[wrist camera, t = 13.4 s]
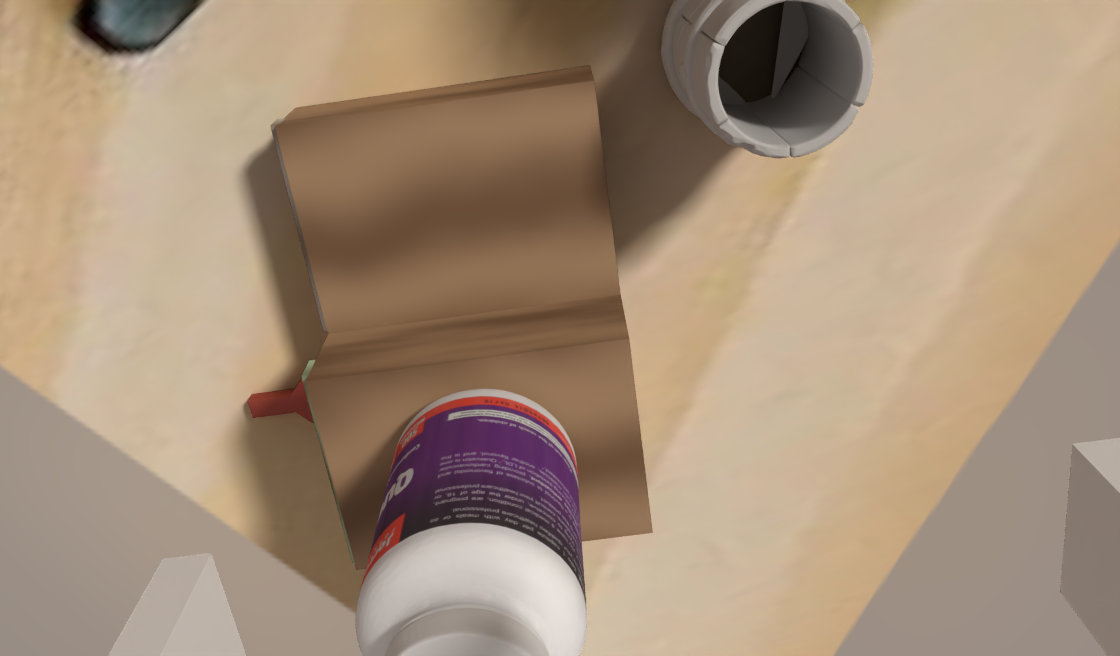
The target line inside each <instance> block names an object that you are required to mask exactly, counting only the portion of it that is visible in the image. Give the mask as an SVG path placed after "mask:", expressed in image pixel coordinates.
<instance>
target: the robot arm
mask: <svg viewBox="0 0 1120 656" xmlns="http://www.w3.org/2000/svg"><path fill="white" fill-rule="evenodd" d="M1060 592H1061V593H1062V595H1063V596H1064V597H1065V599H1066V600H1067V602H1068V603H1069V604H1070V606H1071V607H1072V608H1073V610H1074V611H1075V612H1076V613H1077V615H1078V616H1079V618H1080V619H1081V620H1082V622H1083V623H1084V624H1085V626H1086V627H1087V629H1088V630H1089V631H1090V633H1091V634H1092V635H1093V637H1094V638H1095V639H1096V641H1097V642H1098V643H1099V645H1100V646H1101V648H1102V649H1103V650H1104V652H1105V653H1106V654H1107V656H1120V438H1115V439H1108V440H1100V441H1092V442H1084V443H1076V444H1072V455H1071V467H1070V479H1069V491H1068V503H1067V515H1066V527H1065V539H1064V551H1063V564H1062V576H1061V588H1060ZM108 656H246V653H245V650H244V647H243V644H242V641H241V638H240V635H239V632H238V630H237V627H236V624H235V621H234V618H233V615H232V612H231V609H230V606H229V603H228V600H227V597H226V595H225V592H224V589H223V586H222V583H221V580H220V577H219V574H218V571H217V569H216V565H215V562H214V560H213V557H212V554H211V553H207V554H199V555H192V556H183V557H175V558H167V559H163V560H162V561H161V563H160V565H159V567H158V568H157V570H156V572H155V574H154V575H153V578H152V579H151V581H150V583H149V585H148V586H147V588H146V590H145V591H144V593H143V595H142V597H141V598H140V600H139V602H138V604H137V606H136V608H135V609H134V611H133V613H132V614H131V616H130V618H129V620H128V621H127V623H126V625H125V627H124V629H123V630H122V632H121V634H120V636H119V638H118V639H117V641H116V643H115V644H114V646H113V648H112V650H111V652H110V653H109V655H108Z"/></svg>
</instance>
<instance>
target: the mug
mask: <svg viewBox="0 0 1120 656" xmlns="http://www.w3.org/2000/svg"><path fill="white" fill-rule="evenodd" d="M781 2H784V7H783V15H782V22H781V29H780V37H779V44H778V51H777V58H776V66H775V73H774V80H773V88H772V94H770V95H769V96H767V97H765V98H763V99H761V100H758V101H754V102H748V103H747V102H746V101H745V100H744V99H743V98H742V97H741V96H740V95H738V94H737V93H736V92H735V91H734V90H733V89H732V88H731V87H730V86H729V85H728V84H727V83H726V82H725V81H724V80H723V79H722V78H721V77H720V76H719V75H718V72H719V65H720V61H721V57H722V54H723V51H724V46H725V45H726V44H727V43H728V41H729V40H730V38H731V37H732V35H733V34H734V33H735V31H736V30H737V29H738V28H739V27H740V26H741V25H742V24H743V23H744V22H745V21H746V20H747V19H748V18H750V17H751V16H753V15H754V14H756V13H757V12H759V11H760V10H762V9H764V8H766V7H768V6H771V5H774V4H777V3H781ZM860 21H861V20H860V18H859V17H858V15H857V14H856V13H855V12H854V11H853V10H852V9H851V8H850V7H849V6H848V5H847V4H846V2H845V1H844V0H674V2H673V4H672V6H671V8H670V10H669V13H668V15H667V18H666V21H665V25H664V29H663V35H662V47H661V57H662V59H663V65H664V70H665V73H666V76H667V79H668V81H669V84H670V86H671V88H672V90H673V91H674V93H675V95H676V96H677V97H678V99H679V100H680V101H681V102H682V104H683V105H684V106H685V107H686V109H687V110H688V111H689V112H691V113H692V114H694V115H695V116H697V117H698V118H700V119H701V120H702V121H703V123H704V124H705V125H706V126H707V127H708V128H709V129H710V130H711V131H712V132H714V133H715V134H716V135H717V136H719V137H720V138H721V139H722V140H723V141H724V142H725V143H727V144H729V145H731V146H735V147H740V148H744V149H746V150H748V151H750V152H751V153H754V154H757V155H760V156H765V157H772V158H786V157H789V156H791V157H800V156H804V155H807V154H810V153H812V152H815V151H817V150H819V149H821V148H823V147H825V146H827V145H828V144H830V143H831V142H833V141H834V140H835V139H837V138H838V137H839V136H840V135H841V134H843V133H844V132H845V131H846V130H847V128H848V127H849V126H850V125H851V124H852V122H853V120H854V118H855V116H856V114H857V112H858V111H857V109H856V107H855V106H858V107H860V106H862V105H864V104H865V101H866V99H867V96H868V93H869V90H870V87H871V83H872V77H873V55H872V48H871V43H870V39H869V36H868V33H867V31H866V29H865V27H864V25H863V24H861V23H860ZM803 47H804V49H803ZM802 49H803V52H802V55H801V58H800V60H799V62H798V66H797V67H796V68H795V69H794V71H793V73H792V74H791V76H790V77H789V79H788V80H787V81H786V82H785V83H784V81H785V79H786V78H787V76H788V74H789V72H790V71H791V69H792V67H793V65H794V63H795V62H796V60H797V58H798V56H799V54H800V53H801V51H802ZM783 83H784V84H783ZM854 105H855V106H854Z"/></svg>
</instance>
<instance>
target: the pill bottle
mask: <svg viewBox="0 0 1120 656" xmlns="http://www.w3.org/2000/svg"><path fill="white" fill-rule="evenodd" d="M586 628H587V616H586V597H585V582H584V569H583V555H582V540H581V525H580V507H579V488H578V470H577V463H576V456H575V452H574V449H573V446H572V444H571V441H570V439H569V437H568V435H567V433H566V432H565V430H564V429H563V427H562V426H561V424H560V423H559V422H558V421H557V420H556V418H555V417H554V416H553V415H551V414H550V413H549V412H548V411H547V410H546V409H544V408H543V407H542V406H540V405H539V404H537V403H536V402H534V401H532V400H530V399H528V398H526V397H524V396H521V395H519V394H516V393H512V392H508V391H504V390H498V389H473V390H466V391H460V392H456V393H453V394H450V395H447V396H445V397H442V398H440V399H438V400H436V401H434V402H433V403H431V404H429V405H428V406H427V407H425V408H424V409H423V410H421V411H420V412H419V413H418V414H417V415H416V416H415V417H414V418H413V419H412V420H411V421H410V423H409V424H408V425H407V427H406V428H405V430H404V432H403V434H402V435H401V437H400V439H399V442H398V444H397V447H396V451H395V454H394V458H393V462H392V466H391V470H390V474H389V479H388V483H387V487H386V491H385V495H384V499H383V503H382V507H381V511H380V515H379V518H378V523H377V527H376V530H375V535H374V539H373V543H372V547H371V551H370V555H369V559H368V563H367V567H366V571H365V575H364V579H363V582H362V586H361V590H360V594H359V599H358V603H357V608H356V633H357V639H358V643H359V647H360V650H361V652H362V655H363V656H580V654H581V651H582V648H583V645H584V642H585V636H586Z"/></svg>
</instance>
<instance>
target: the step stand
mask: <svg viewBox="0 0 1120 656" xmlns="http://www.w3.org/2000/svg"><path fill="white" fill-rule="evenodd" d="M270 126H271V130H272V134H273V137H274V141H275V145H276V149H277V153H278V157H279V161H280V165H281V168H282V172H283V176H284V180H285V184H286V188H287V192H288V196H289V199H290V203H291V207H292V211H293V215H294V219H295V223H296V226H297V230H298V234H299V238H300V242H301V246H302V250H303V254H304V257H305V261H306V265H307V269H308V273H309V277H310V281H311V285H312V288H313V292H314V296H315V300H316V304H317V308H318V312H319V315H320V319H321V323H322V327H323V331H327V332H328V335H327V337H326V339H325V342H324V344H323V346H322V348H321V350H320V352H319V354H318V356H317V358H316V360H309V362H308V364H307V366H306V368H305V370H304V372H303V374H302V376H301V377H302V379H301V380H300V382H299V383H298V384H297V386H296V387H295V388H294V389H288V390H281V391H273V392H266V393H258V394H252V395H251V397H250V399H249V400H248V403H249V407H250V410H251V413H252V417H253V418H256V417H264V416H271V415H279V414H287V413H294V412H296V413H297V414H299V415H301V416H302V417H304V418H306V419H307V420H309V421H311V422H312V423H314V424H315V428H316V431H317V435H318V439H319V442H320V446H321V450H322V453H323V457H324V461H325V464H326V468H327V471H328V475H329V479H330V482H331V486H332V490H333V493H334V497H335V501H336V504H337V508H338V512H339V515H340V519H341V523H342V526H343V530H344V534H345V537H346V541H347V544H348V548H349V552H350V555H351V559H352V563H353V562H355V566H356V570H358V569H366V567H367V563H368V559H369V555H370V551H371V547H372V543H373V539H374V535H375V530H376V527H377V523H378V518H379V515H380V511H381V507H382V503H383V499H384V495H385V491H386V487H387V483H388V479H389V474H390V470H391V466H392V462H393V458H394V454H395V451H396V447H397V444H398V442H399V439H400V437H401V435H402V434H403V432H404V430H405V428H406V427H407V425H408V424H409V423H410V421H411V420H412V419H413V418H414V417H415V416H416V415H417V414H418V413H419V412H420V411H421V410H423V409H424V408H425V407H427V406H428V405H429V404H431V403H433V402H434V401H436V400H438V399H440V398H442V397H445V396H447V395H450V394H453V393H456V392H460V391H466V390H473V389H498V390H504V391H508V392H512V393H516V394H519V395H521V396H524V397H526V398H528V399H530V400H532V401H534V402H536V403H537V404H539V405H540V406H542V407H543V408H544V409H546V410H547V411H548V412H549V413H550V414H551V415H553V416H554V417H555V418H556V420H557V421H558V422H559V423H560V424H561V426H562V427H563V429H564V430H565V432H566V433H567V435H568V437H569V439H570V441H571V444H572V446H573V449H574V452H575V456H576V463H577V470H578V488H579V507H580V525H581V540H582V541H590V540H598V539H606V538H614V537H622V536H630V535H638V534H646V533H653V531H652V523H651V515H650V507H649V498H648V490H647V482H646V474H645V465H644V457H643V449H642V441H641V433H640V424H639V416H638V408H637V400H636V391H635V383H634V375H633V367H632V358H631V350H630V342H629V336H628V330H627V325H626V320H625V315H624V310H623V305H622V300H621V295H620V287H619V278H618V270H617V262H616V254H615V246H614V238H613V230H612V221H611V213H610V205H609V197H608V189H607V181H606V173H605V164H604V156H603V148H602V140H601V132H600V124H599V116H598V107H597V99H596V91H595V83H594V78H593V74H592V71H591V67H590V66H583V67H576V68H569V69H562V70H555V71H548V72H541V73H534V74H527V75H520V76H513V77H506V78H500V79H493V80H486V81H479V82H472V83H465V84H458V85H451V86H444V87H437V88H430V89H423V90H416V91H409V92H403V93H396V94H389V95H382V96H375V97H368V98H361V99H354V100H347V101H340V102H333V103H326V104H319V105H312V106H306V107H299V108H295V109H294V110H293V111H292V112H291V113H289V114H288V115H287V116H286V117H285V118H284V119H278V120H276V121H275V122H274V123H273V124H271V125H270Z"/></svg>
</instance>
